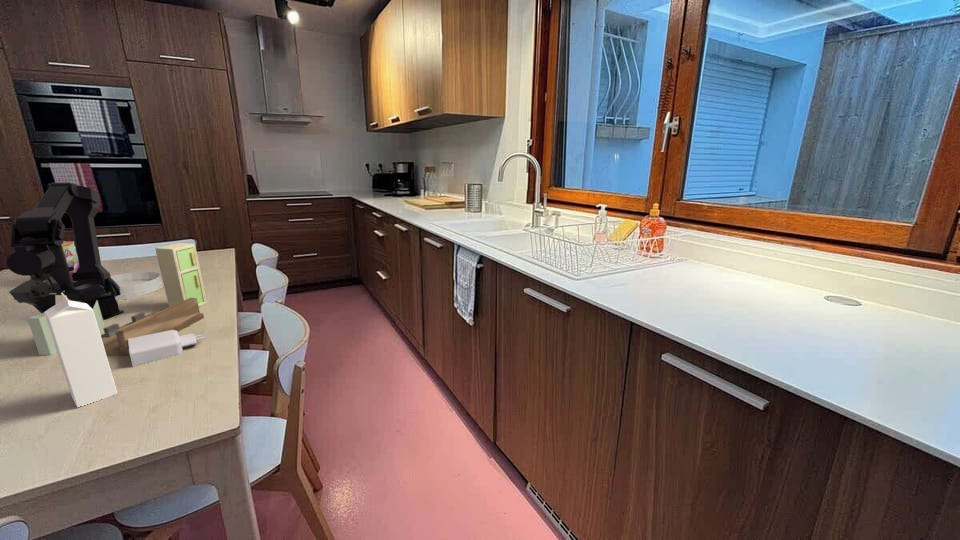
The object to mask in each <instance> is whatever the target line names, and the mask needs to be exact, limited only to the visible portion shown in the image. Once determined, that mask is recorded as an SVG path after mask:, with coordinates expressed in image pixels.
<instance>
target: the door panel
mask: <svg viewBox="0 0 960 540" xmlns="http://www.w3.org/2000/svg"><path fill="white" fill-rule="evenodd" d="M93 311H94V314H95V318H96V321H97V324H98V328H99V331H100V335H102V334H105V333H104V329H103V328H106V326H105V323H104V319H102V315H101V312H100V308H99V305H98V301H96V303H95V305H94V308H93ZM26 319H27V322H28V324H29V328H30V330H31V333H32V337H33V339H34V341H35V345H36V348H37V351H38V354H39V356H53V355H55V354H58V353H57V350H56V347H55V344H54V341H53V338H52V335H51V332H50V329H49V326H48V323H47V320H46V317H45V314H44V313H38V314H35V315H32V316H30V317H27V318H26ZM52 354H53V355H52Z"/></svg>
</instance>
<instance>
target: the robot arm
mask: <svg viewBox="0 0 960 540" xmlns="http://www.w3.org/2000/svg"><path fill="white" fill-rule="evenodd" d="M46 185H47V190H46V192H45V193H44V194H43V196H42V197H41V198H40V200H39V202H38V203H37V205H36V206H35V207H34V208H33V209H31V210H28V211H25V212H22V213H21V214H20V215H18V216H17V217H16V218H15V220H14V221H13V223H12V229H11V237H10V238H11V239H10V248H13V250H14V252H13V253H11V254H10V255H9V256H7V258H6V263H5V264H6V267H7V268H8V269H9V271H11V272H12V273H13V274H16V275H18V276H22V277H23V276H24V277H25V276H28V277H30V279H29V280H27V281H24V282H23V283H20V284H19V285H17V286H16V287H14V288H13V289H11V290H10V291H8V293H9V294H10V296H12V297H13V299H14V301H17V303H19V304H22V303H24V304H28V305H31V306H33V307H34V308H35V309H36V310H37V311H38V312H39V314H41V313H44V312H45V311H47V310H48V309H50V308H51V307H53V306H54V305H56V304H57V302H56V301H57V300H56V296H62V294H61V293H63V294H64V295H65V296H66V298H67V299H68V300H70V301H76V302H81V303H87V304H88V305H89V306H90V307H91V308H92V309H93V308H94V305H95V303H96V301H98V305H99V308H100V312H101V315H102V319H103V320H107V319H110V318H112V317H114V316H117V315H119V314H122V313H124V312H125V310H123V309H121V310H120V307H119V303H118V301H117V300H116V299H115V297H116V296H119V295H121V293H120V287H119V286H118V284H117V283H116V282H115V281H114V280H113V279H112V278H111V276H112V275H111V273H110V271H108V270H107V269H106V268H105V267H104V266H103V265H102V262H101V260H102V259H101V256H100V255H101V254H100V249H99V243H98V238H97V231H96V230H97V229H96V225H95V219H94V218H95V216H96V215H97V214H98V212H99V211H100V203H101V196H100V194H99V192H98V191H96V190H95V189H93V188H92V187H87V186H84V185H83V186H82V185H79V184H78V185H77V184H76V183H74V182H69V181H67V182H65V181H64V182H51V183H48V184H46ZM65 214H67V216H68V217H70V220H71V226H72V231H73V233H72V234H73V237H74V243H75V247H76V251H77V256H78V262H79V268H78V269H77V271H76V272H75V273H73V274H72V277H71V273H70V271H73V270H74V267H73V266H68V263H67V260H66V257H65V253H64V250H63V247H62V244H63V243H64V242H63V241H64V240H63V237H64V233H65V229H66V227H65V224H64V222H63V221H62V218H63V216H64V215H65ZM72 279H73V280H72Z"/></svg>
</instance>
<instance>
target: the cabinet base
mask: <svg viewBox="0 0 960 540" xmlns="http://www.w3.org/2000/svg"><path fill="white" fill-rule="evenodd" d="M204 316H205V315H204V313H202V312H200V307H199V306H198V301H197V298H189V299H187V300H184V301H182V302H180V303H178V304H175V305H173V306H171V307H169V306H168V307H166V308H165V309H162V310H160V311H156V312H154V311H153V312H150V313H148V314H145V312H140V313H136V314H135V315H132V316H130V318H131V321H130V322H127V323H126V324H124V325H121V326H120V325H119V323H113V324H111V325H108V326H105V328H103V329H104V333H102V334H100V335H101V338H102V342H103V345H104V349H105V352H106V355H113V356H116V355H117V356H130V352H129V344H128V339H130V338H135V337H140V336H144V335H149V334H154V333H159V332H164V331H169V330H175V331H178V332H180V331H182V330H183V329H186V328H187V327H190V326H191V325H193V324H195V323H197V322H198V321H201V320H202V319H204V318H205V317H204Z"/></svg>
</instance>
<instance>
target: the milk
mask: <svg viewBox="0 0 960 540" xmlns="http://www.w3.org/2000/svg"><path fill="white" fill-rule="evenodd" d="M61 294H62V295H61V297H62V300H60V301H59V302H58V303H57V302H56V305H54V306H53V307H51V308H50V309H48V310H47V311H45V312H44V314H45V317H46V320H47V323H48V326H49V329H50V332H51V335H52V338H53V341H54V344H55V347H56V350H57V353H56V354H57V355H58V356H57V357H58V359H59V362H60V365H61V368H62V372H63V374H64V377H65V380H66V383H67V386H68V389H69V392H70V396H71V398H72V400H73V402H74V404H75V405H76V407H77V408H78V407H80V406H82V407H85V406H87V404H88V405H91V404H94V403H96V401H97V402H100V401H102V400H105V399H108V398H110V397H113V395H114V396H116V394H117V395H118V391H117V387H116V383H115V380H114V377H113V373H112V370H111V366H110V363H109V359H108V356H107V355H106V352H105V349H104V345H103V342H102V338H101V335H102V334H100V331H99V328H98V324H97V321H96V318H95V314H94V311H93V309H92V308H91V307H90V306H89V305H88V304H87V303H81V302H76V301H71V300H69V299H68V298H67V296H66V295H64V294H63V293H61ZM101 399H102V400H101ZM99 400H100V401H99ZM93 402H94V403H93ZM90 403H91V404H90ZM84 405H85V406H84ZM80 408H81V407H80Z"/></svg>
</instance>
